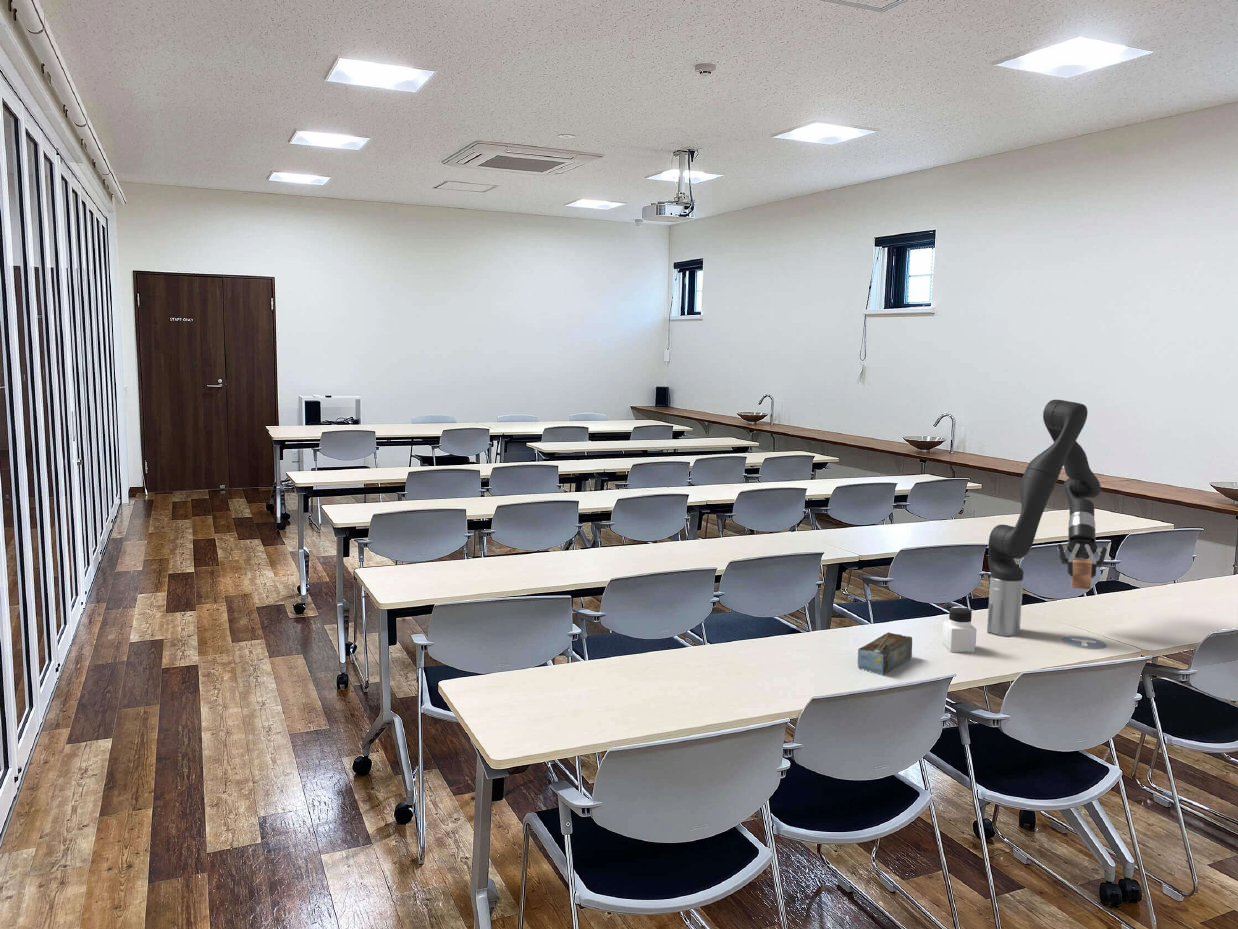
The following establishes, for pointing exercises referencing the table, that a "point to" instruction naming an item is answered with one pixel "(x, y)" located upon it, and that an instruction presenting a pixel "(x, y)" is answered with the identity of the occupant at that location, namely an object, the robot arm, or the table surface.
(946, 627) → the medicine bottle
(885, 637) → the grey boxy piece
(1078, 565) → the terracotta block
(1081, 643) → the letter mat
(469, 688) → the table surface
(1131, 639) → the table surface
